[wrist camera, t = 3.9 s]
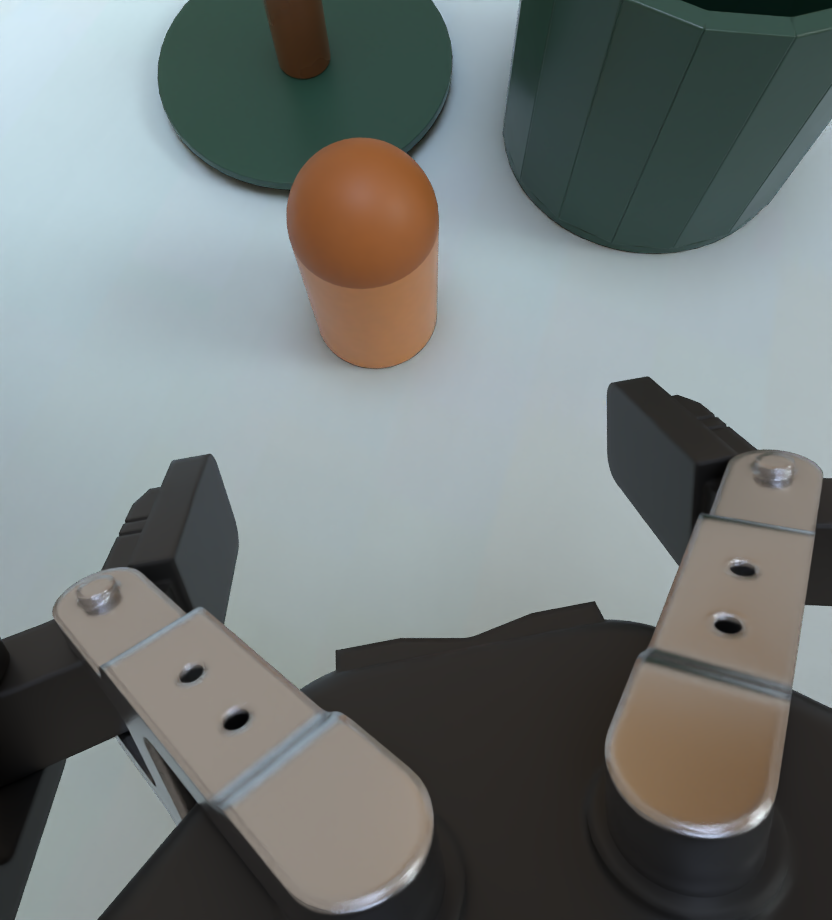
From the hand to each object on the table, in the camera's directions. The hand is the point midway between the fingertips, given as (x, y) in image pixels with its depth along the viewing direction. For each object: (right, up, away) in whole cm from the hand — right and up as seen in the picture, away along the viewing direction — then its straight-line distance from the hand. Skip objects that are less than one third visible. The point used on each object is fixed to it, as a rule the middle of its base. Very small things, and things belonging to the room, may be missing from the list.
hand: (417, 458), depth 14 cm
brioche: (-2, +7, +17) cm, 18 cm away
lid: (-5, +20, +20) cm, 29 cm away
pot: (+11, +16, +20) cm, 28 cm away
